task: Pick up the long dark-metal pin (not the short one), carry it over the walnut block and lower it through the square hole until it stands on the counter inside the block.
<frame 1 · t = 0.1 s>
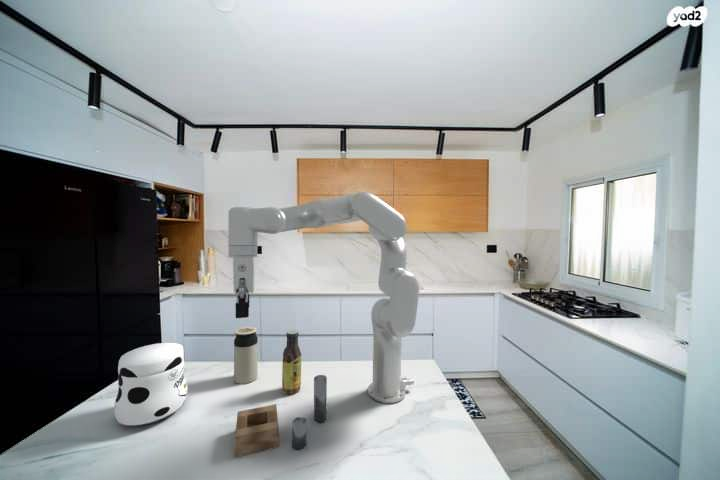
hand: (242, 312, 79), 31 cm above the countertop, tool pointing down, fingers open, 9 cm apart
short pin: (299, 444, 71), on the countertop
travel mug: (245, 379, 103), on the countertop
hole block: (257, 437, 73), on the countertop
sauce bottle: (291, 390, 96), on the countertop
long pin: (320, 419, 81), on the countertop
milk container: (153, 413, 83), on the countertop
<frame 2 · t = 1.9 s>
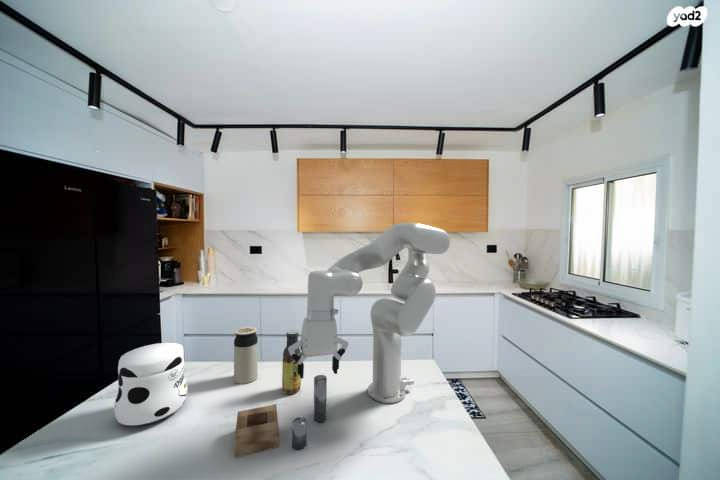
hand: (318, 374, 80), 13 cm above the countertop, tool pointing down, fingers open, 9 cm apart
nothing on the countertop moved.
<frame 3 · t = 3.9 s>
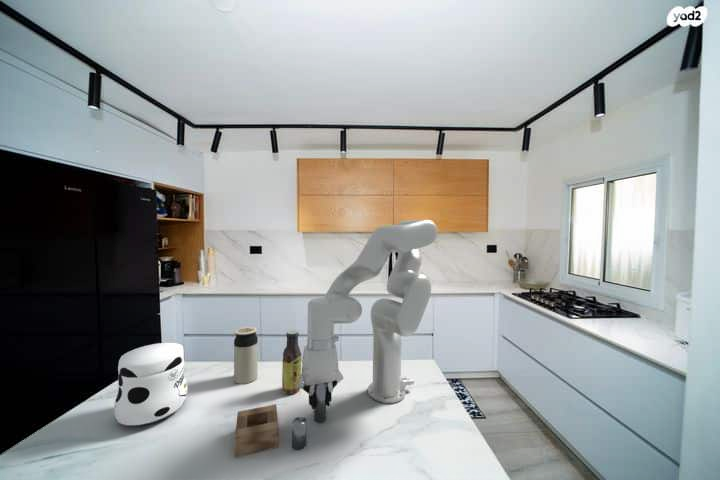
hand: (320, 404, 81), 4 cm above the countertop, tool pointing down, fingers closed on long pin, 3 cm apart
long pin: (320, 419, 81), on the countertop, touching gripper
everything else where it was.
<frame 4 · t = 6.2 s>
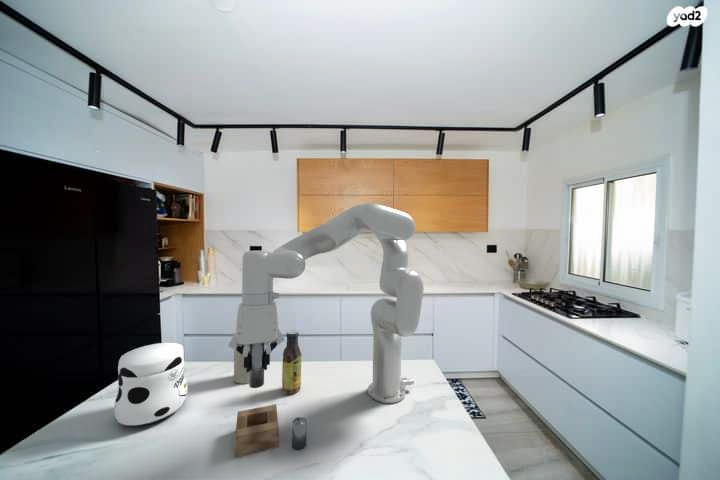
hand: (256, 368, 73), 18 cm above the countertop, tool pointing down, fingers closed on long pin, 3 cm apart
long pin: (256, 384, 73), point 14 cm above the countertop, touching gripper
everything else where it was.
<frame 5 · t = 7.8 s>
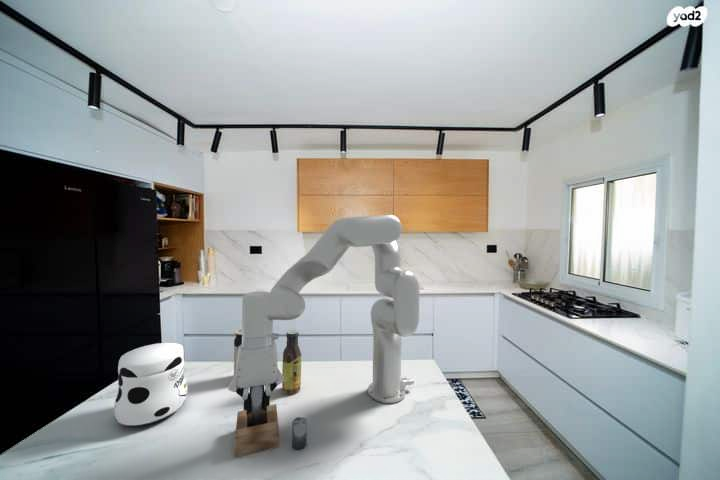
hand: (256, 409, 73), 8 cm above the countertop, tool pointing down, fingers closed on long pin, 3 cm apart
long pin: (256, 425, 73), point 3 cm above the countertop, touching gripper
everything else where it was.
when the fingers open (6 cm above the countertop, at t = 8.8 s): long pin drops 2 cm, resting in hole block.
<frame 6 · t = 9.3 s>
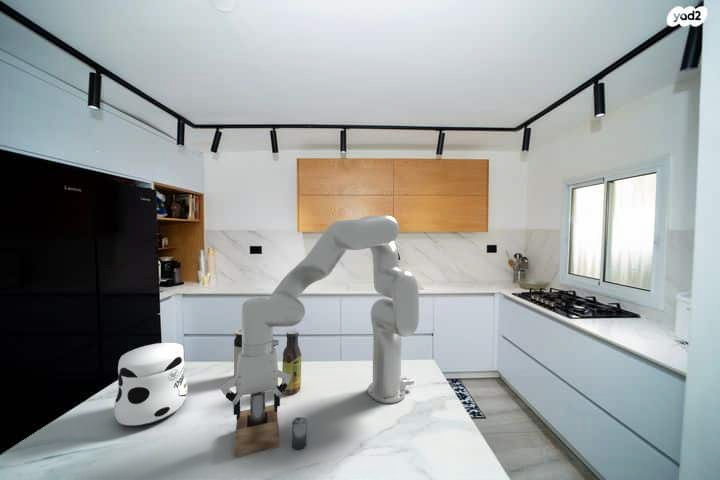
hand: (257, 412, 73), 7 cm above the countertop, tool pointing down, fingers open, 8 cm apart
long pin: (257, 437, 73), resting in hole block
everything else where it was.
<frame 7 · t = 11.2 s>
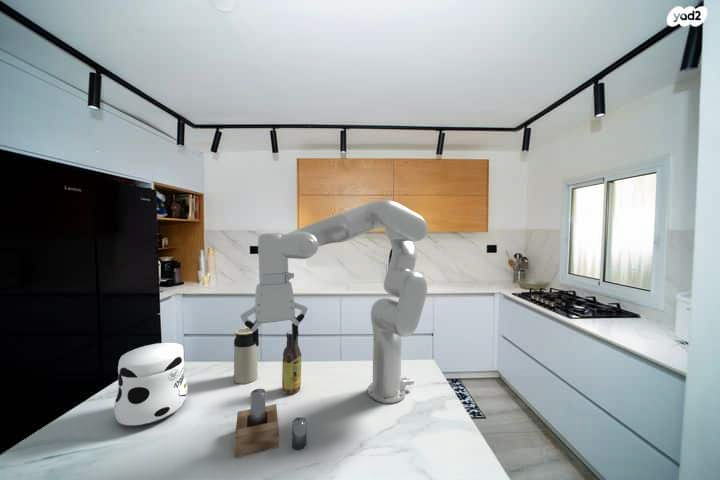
hand: (276, 341, 76), 24 cm above the countertop, tool pointing down, fingers open, 9 cm apart
nothing on the countertop moved.
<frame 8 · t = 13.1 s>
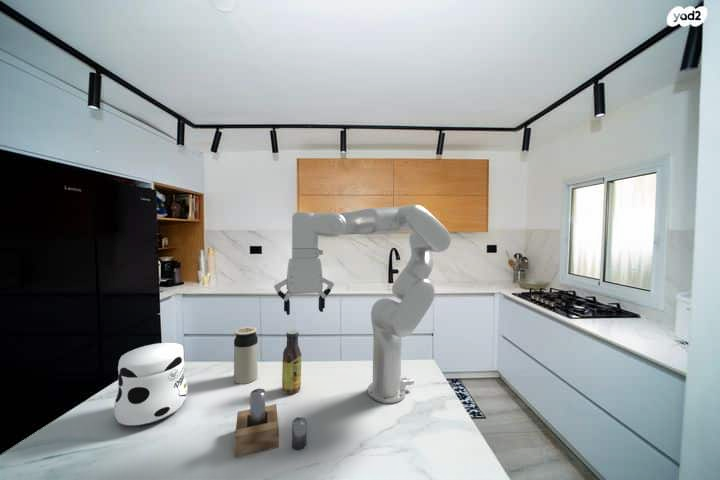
hand: (304, 312, 83), 30 cm above the countertop, tool pointing down, fingers open, 9 cm apart
nothing on the countertop moved.
at the end: long pin 0.1 cm off-centre on the hole block, point 0.0 cm above the hole block's base; long pin tilted 0°; short pin moved 0.0 cm from its start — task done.
